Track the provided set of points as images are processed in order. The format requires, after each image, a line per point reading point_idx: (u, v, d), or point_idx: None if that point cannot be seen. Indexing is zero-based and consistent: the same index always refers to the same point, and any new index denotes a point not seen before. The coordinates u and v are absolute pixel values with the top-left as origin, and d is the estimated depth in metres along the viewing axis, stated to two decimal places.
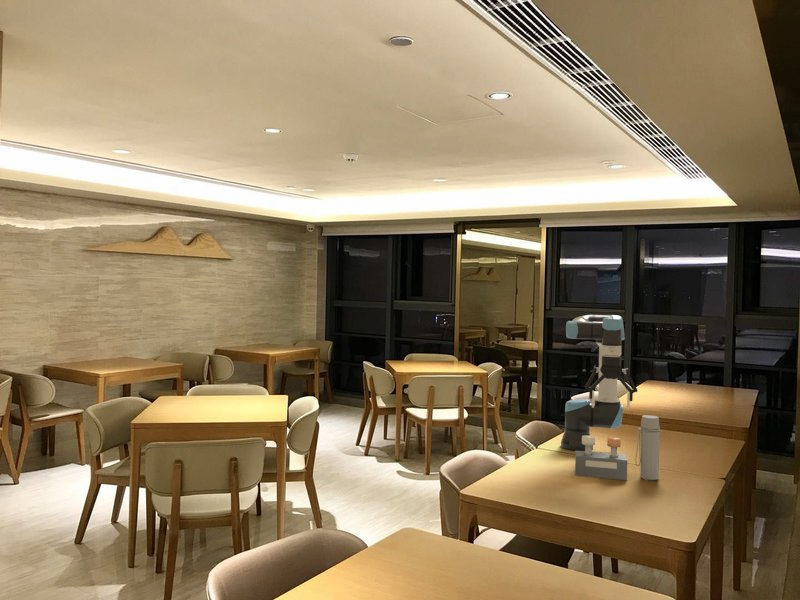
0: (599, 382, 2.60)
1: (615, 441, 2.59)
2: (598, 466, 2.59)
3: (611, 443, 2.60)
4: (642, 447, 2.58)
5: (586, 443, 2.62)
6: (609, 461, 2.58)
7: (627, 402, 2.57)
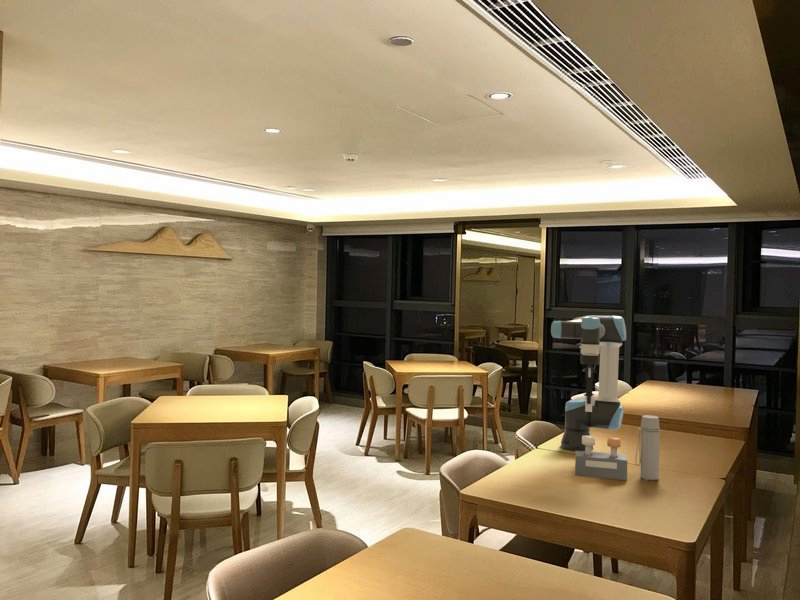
0: None
1: (615, 441, 2.59)
2: (598, 466, 2.59)
3: (611, 443, 2.60)
4: (642, 447, 2.58)
5: (586, 443, 2.62)
6: (609, 461, 2.58)
7: None
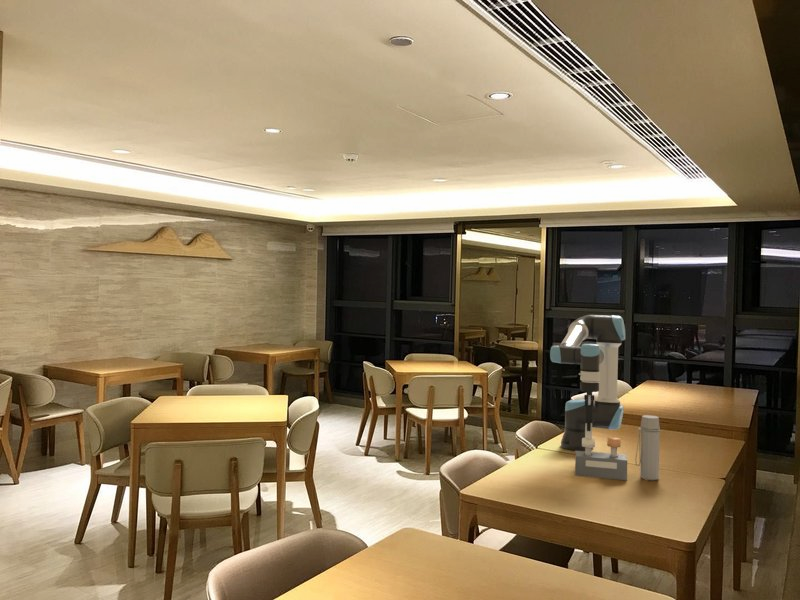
0: None
1: (615, 441, 2.59)
2: (598, 466, 2.59)
3: (611, 443, 2.60)
4: (642, 447, 2.58)
5: (586, 445, 2.62)
6: (609, 461, 2.58)
7: None
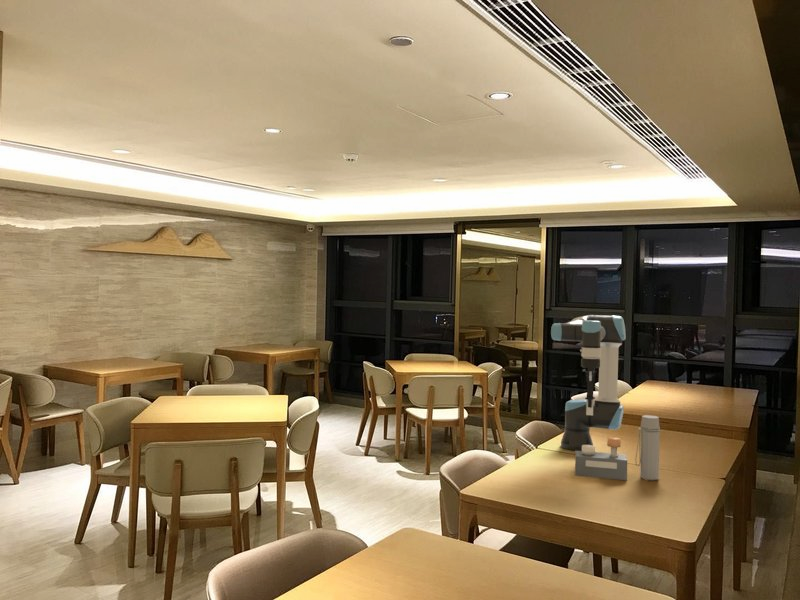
0: None
1: (615, 441, 2.59)
2: (598, 466, 2.59)
3: (611, 443, 2.60)
4: (642, 447, 2.58)
5: (586, 452, 2.62)
6: (609, 461, 2.58)
7: None
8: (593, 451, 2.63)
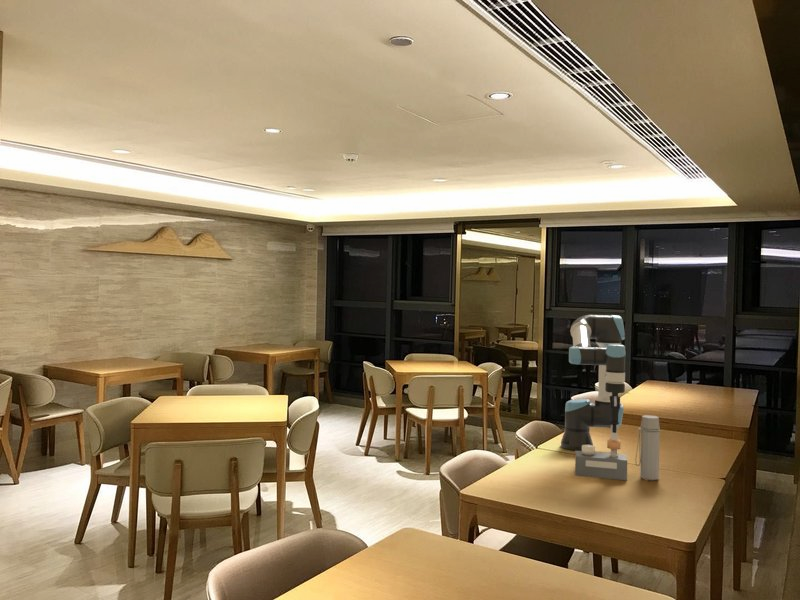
0: (611, 411, 2.63)
1: (615, 443, 2.59)
2: (598, 466, 2.59)
3: (611, 445, 2.60)
4: (642, 447, 2.58)
5: (586, 452, 2.62)
6: (609, 461, 2.58)
7: None
8: (593, 451, 2.63)
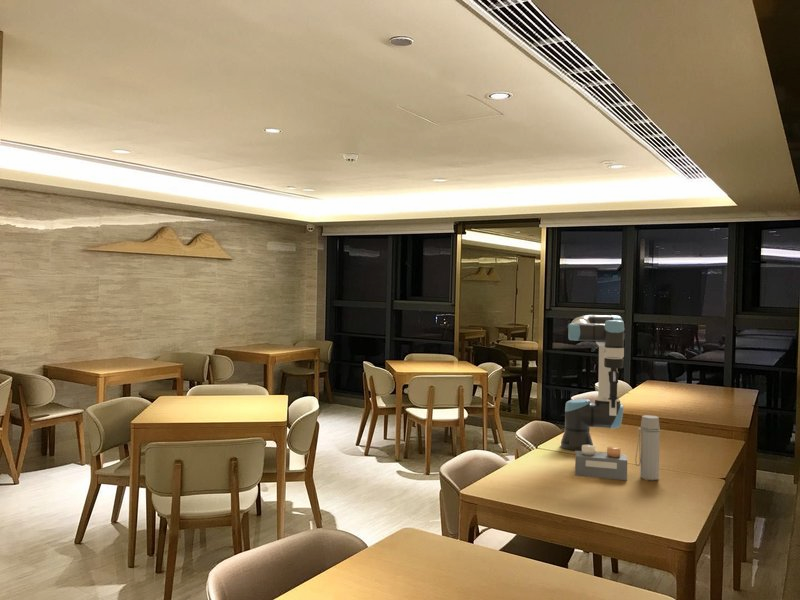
0: None
1: (615, 451, 2.59)
2: (598, 466, 2.59)
3: (611, 453, 2.60)
4: (642, 447, 2.58)
5: (586, 452, 2.62)
6: (609, 461, 2.58)
7: None
8: (593, 451, 2.63)
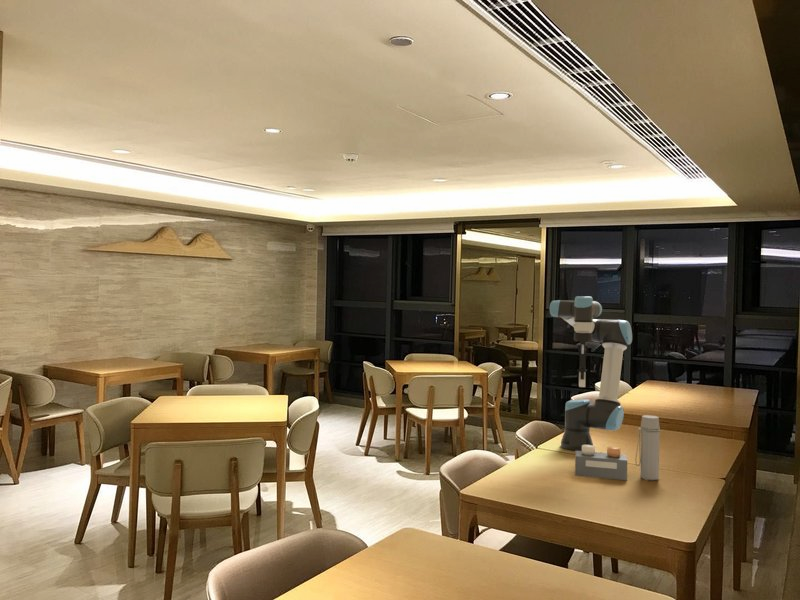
0: None
1: (615, 451, 2.59)
2: (598, 466, 2.59)
3: (611, 453, 2.60)
4: (642, 447, 2.58)
5: (586, 452, 2.62)
6: (609, 461, 2.58)
7: None
8: (593, 451, 2.63)
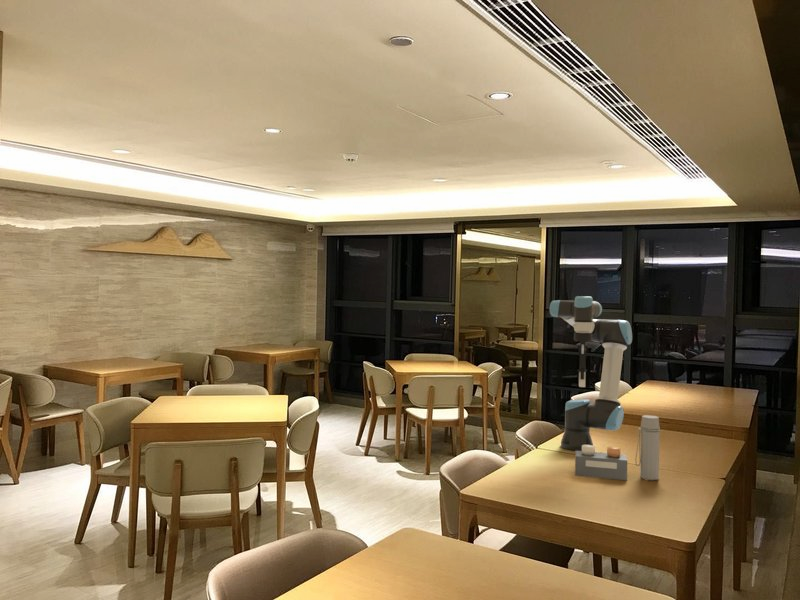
0: None
1: (615, 451, 2.59)
2: (598, 466, 2.59)
3: (611, 453, 2.60)
4: (642, 447, 2.58)
5: (586, 452, 2.62)
6: (609, 461, 2.58)
7: None
8: (593, 451, 2.63)
